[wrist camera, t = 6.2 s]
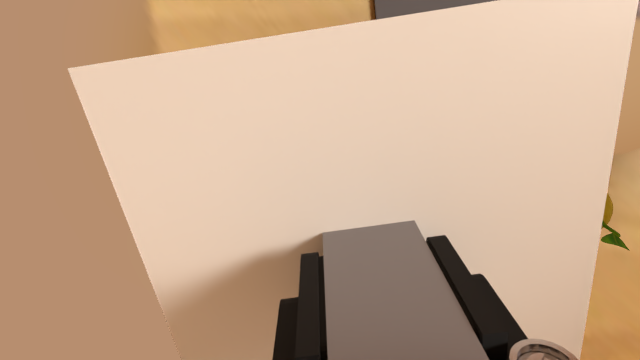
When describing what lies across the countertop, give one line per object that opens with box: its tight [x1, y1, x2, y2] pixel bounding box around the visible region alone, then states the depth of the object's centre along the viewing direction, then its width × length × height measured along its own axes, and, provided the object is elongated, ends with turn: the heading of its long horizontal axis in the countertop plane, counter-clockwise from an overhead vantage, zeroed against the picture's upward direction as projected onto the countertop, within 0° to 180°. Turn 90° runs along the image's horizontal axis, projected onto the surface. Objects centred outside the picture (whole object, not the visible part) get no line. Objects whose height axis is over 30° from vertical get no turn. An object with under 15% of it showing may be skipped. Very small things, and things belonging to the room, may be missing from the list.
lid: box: [68, 0, 639, 360], centre depth 11 cm, size 15×15×8 cm
